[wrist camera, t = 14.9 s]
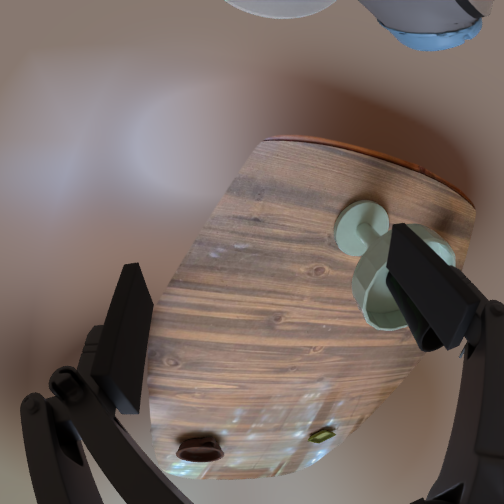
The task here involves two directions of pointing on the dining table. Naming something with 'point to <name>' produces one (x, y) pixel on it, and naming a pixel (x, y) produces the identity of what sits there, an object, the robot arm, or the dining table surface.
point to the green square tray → (321, 436)
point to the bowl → (377, 259)
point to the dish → (200, 450)
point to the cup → (413, 317)
